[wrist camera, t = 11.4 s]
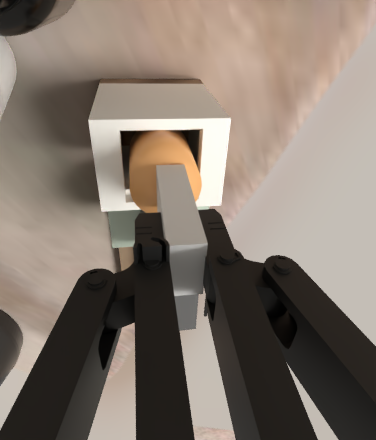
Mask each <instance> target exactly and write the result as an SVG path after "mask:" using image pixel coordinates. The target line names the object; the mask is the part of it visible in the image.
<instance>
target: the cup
mask: <svg viewBox="0 0 376 440" xmlns="http://www.w3.org/2000/svg"><path fill="white" fill-rule="evenodd" d="M16 76H17V67H16V60H15V57H14V54H13V51H12V49H11V48H10V46H9V44H8V42H7V40H6V39H5V38H4V36H0V121H1V118H2V115H3V113H4V110H5V108H6V105H7V102H8V100H9V97H10V95H11V92H12V90H13V87H14V84H15V81H16Z"/></svg>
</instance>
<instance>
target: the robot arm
mask: <svg viewBox="0 0 376 440" xmlns="http://www.w3.org/2000/svg"><path fill="white" fill-rule="evenodd" d="M156 183H157V212H156V213H139V214H138V216H137V217H136V219H135V243H134V246H133V255H134V262H133V264H132V265H131V266H130V267H128V268H127V269H125V270H123V271H121V272H118V273H115V274H113V273H112V272H111V271H109V270H106V269H93V270H90V271H87V272H86V273H84V274H83V275H82V276H81V277H80V278H79V279H78V281H77V283H76V285H75V287H74V289H73V290H72V292H71V294H70V296H69V298H68V300H67V302H66V304H65V306H64V308H63V310H62V312H61V314H60V316H59V318H58V320H57V322H56V323H55V325H54V327H53V329H52V331H51V333H50V335H49V337H48V339H47V341H46V343H45V345H44V347H43V349H42V351H41V353H40V354H39V356H38V358H37V360H36V362H35V364H34V366H33V368H32V370H31V372H30V374H29V376H28V378H27V380H26V382H25V384H24V386H23V388H22V389H21V391H20V393H19V395H18V397H17V399H16V401H15V403H14V405H13V407H12V409H11V411H10V413H9V415H8V417H7V419H6V421H5V422H4V424H3V426H2V428H1V430H0V440H87V439H88V436H89V433H90V429H91V426H92V423H93V420H94V417H95V413H96V410H97V407H98V403H99V401H100V397H101V394H102V391H103V388H104V385H105V381H106V378H107V375H108V372H109V368H110V365H111V362H112V359H113V355H114V352H115V349H116V346H117V343H118V339H119V336H120V333H121V329H122V327H124V326H127V325H129V324H132V323H135V372H136V373H135V374H136V440H195V439H194V432H193V425H192V418H191V410H190V404H189V396H188V389H187V382H186V375H185V368H184V361H183V354H182V346H181V339H180V332H179V325H178V318H177V311H176V303H175V296H182V295H194V294H203V288H205V293H206V299H205V308H204V309H205V310H204V316H207V314H208V318H209V323H210V327H211V332H212V336H213V341H214V345H215V349H216V353H217V358H218V363H219V367H220V372H221V376H222V380H223V385H224V389H225V394H226V398H227V403H228V407H229V412H230V416H231V421H232V424H233V429H234V434H235V438H236V440H318V439H317V437H316V434H315V432H314V429H313V427H312V424H311V422H310V420H309V417H308V415H307V412H306V410H305V407H304V405H303V402H302V400H301V397H300V395H299V392H298V390H297V388H296V385H295V383H294V380H293V378H292V375H291V373H290V370H289V368H288V366H287V364H288V365H289V367H290V368H291V370H292V371H293V372H294V374H295V376H296V377H297V378H298V380H299V381H300V383H301V384H302V386H303V387H304V389H305V390H306V392H307V393H308V395H309V396H310V398H311V399H312V401H313V402H314V404H315V405H316V407H317V408H318V410H319V411H320V413H321V414H322V416H323V417H324V418H325V420H326V422H327V423H328V424H329V426H330V428H331V429H332V430H333V432H334V433H335V435H336V436H337V438H338V439H339V440H376V346H375V345H374V344H373V343H372V342H371V341H370V340H369V339H368V338H367V337H366V336H365V335H364V334H363V333H362V332H361V330H360V329H359V328H358V327H357V326H356V325H355V324H354V323H353V322H352V321H351V320H350V319H349V318H348V317H347V316H346V315H345V314H344V313H343V312H342V311H341V309H340V308H339V307H338V306H337V305H336V304H335V303H334V302H333V301H332V300H331V299H330V298H329V297H328V296H327V295H326V294H325V293H324V292H323V291H322V290H321V288H320V287H319V286H318V285H317V284H316V283H315V282H314V281H313V280H312V279H311V278H310V277H309V276H308V275H307V274H306V273H305V272H304V270H303V269H302V268H301V267H300V266H299V265H298V264H297V263H296V262H294V261H293V260H292V259H290V258H288V257H285V256H280V255H276V256H271V257H269V258H267V259H266V261H265V263H259V262H253V261H249V260H246V259H244V257H243V256H242V254H241V253H240V252H239V251H237V250H236V249H234V247H233V244H232V242H231V239H230V237H229V234H228V232H227V229H226V227H225V224H224V221H223V219H222V216H221V215H220V214H219V213H218V212H217V211H216V210H215V209H204V210H198V209H197V206H196V202H195V199H194V195H193V192H192V189H191V185H190V182H189V179H188V175H187V172H186V168H185V165H184V164H181V165H156ZM22 344H23V335H22V332H21V330H20V328H19V326H18V325H17V323H16V322H15V321H14V320H13V319H12V318H11V317H9V316H8V315H7V314H5V313H4V312H2V311H1V310H0V386H1V384H2V383H3V381H4V380H5V378H6V376H7V375H8V374H9V372H10V371H11V369H12V368H13V367H14V365H15V364H16V362H17V360H18V357H19V354H20V350H21V347H22ZM286 362H287V363H286Z"/></svg>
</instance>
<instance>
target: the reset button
mask: <svg viewBox="0 0 376 440" xmlns="http://www.w3.org/2000/svg"><path fill="white" fill-rule="evenodd" d="M181 164H184V165H185V168H186V172H187V175H188V179H189V182H190V185H191V189H192V192H193V195H194V199H195V202H196V201H197V199H198V197H199V195H200V192H201V188H202V180H201V176H200V173H199V170H198V168H197V165H196V163H195V160H194V158H193V155H192V152H191V150H190V147H189V145H188V142H187V140H186V138H185V136H184V134H183V133H182V132H181V131H180V130H145V131H137V132H136V133H135V134H134V136H133V137H132V139H131V142H130V147H129V174H130V194H131V197H132V199H133V201H134V203H135V204H136V205H137V206H138V207H139V208H140V209H141V210H142V211H144V212H145V213H156V212H157V183H156V165H181Z"/></svg>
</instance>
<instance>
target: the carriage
mask: <svg viewBox="0 0 376 440" xmlns="http://www.w3.org/2000/svg"><path fill="white" fill-rule="evenodd" d="M197 209H198V210H204V209H209V206H200V207H197ZM139 213H145V212H144V211H142V210H124V211H108V218H109V225H110V233H111V241H112V248H120V247H133V246H134V243H135V219H136V217H137V216H138V214H139ZM175 303H176V311H177V318H178V325H179V330H189V329H196V317H197V306H198V294H194V295H182V296H175Z"/></svg>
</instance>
